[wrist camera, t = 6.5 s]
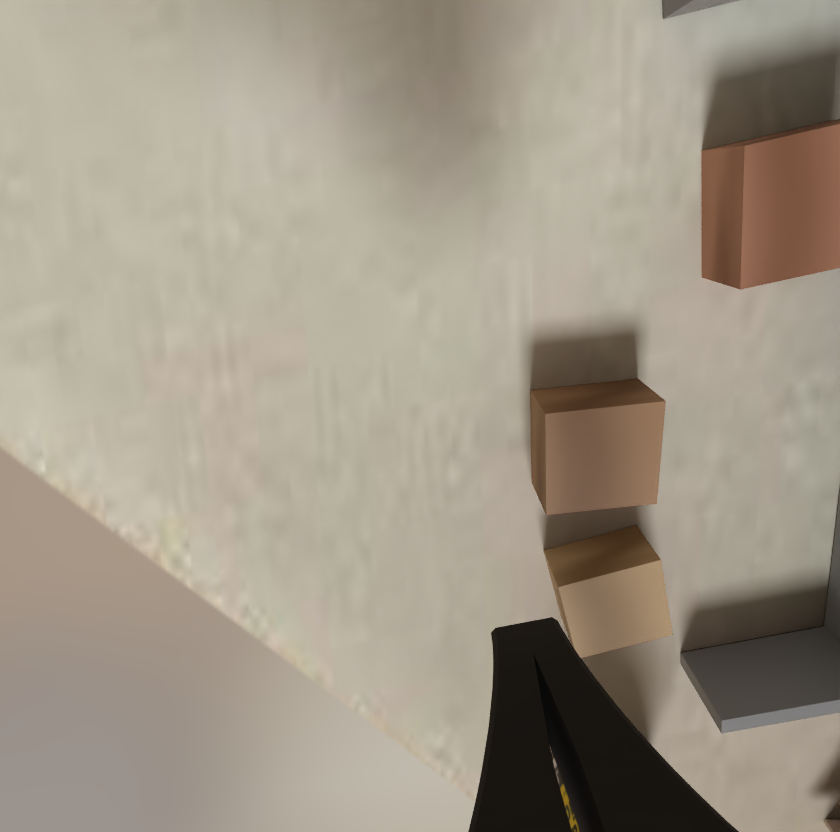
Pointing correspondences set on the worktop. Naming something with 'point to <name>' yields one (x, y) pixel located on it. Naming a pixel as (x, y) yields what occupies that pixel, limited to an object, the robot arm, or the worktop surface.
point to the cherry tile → (772, 207)
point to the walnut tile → (596, 445)
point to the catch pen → (775, 655)
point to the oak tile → (610, 591)
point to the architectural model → (833, 824)
